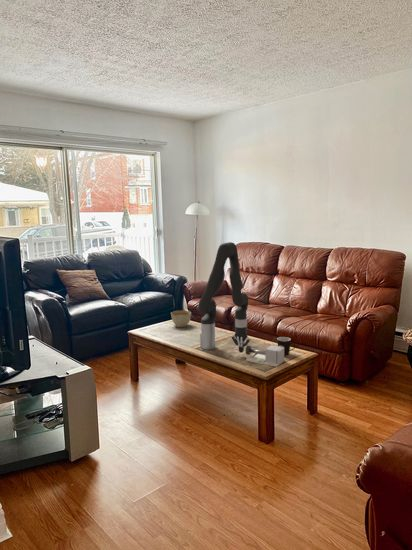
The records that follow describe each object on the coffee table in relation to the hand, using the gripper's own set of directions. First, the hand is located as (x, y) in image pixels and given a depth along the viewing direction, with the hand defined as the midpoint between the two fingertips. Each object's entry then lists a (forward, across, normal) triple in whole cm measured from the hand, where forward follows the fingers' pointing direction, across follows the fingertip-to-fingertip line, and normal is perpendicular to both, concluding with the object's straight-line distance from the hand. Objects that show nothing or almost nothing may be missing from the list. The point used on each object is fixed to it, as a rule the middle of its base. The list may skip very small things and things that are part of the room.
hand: (241, 352), depth 257 cm
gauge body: (+3, +17, 0) cm, 17 cm away
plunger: (+1, +12, -1) cm, 12 cm away
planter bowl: (+2, -74, +39) cm, 84 cm away
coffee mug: (+3, +23, +15) cm, 28 cm away
